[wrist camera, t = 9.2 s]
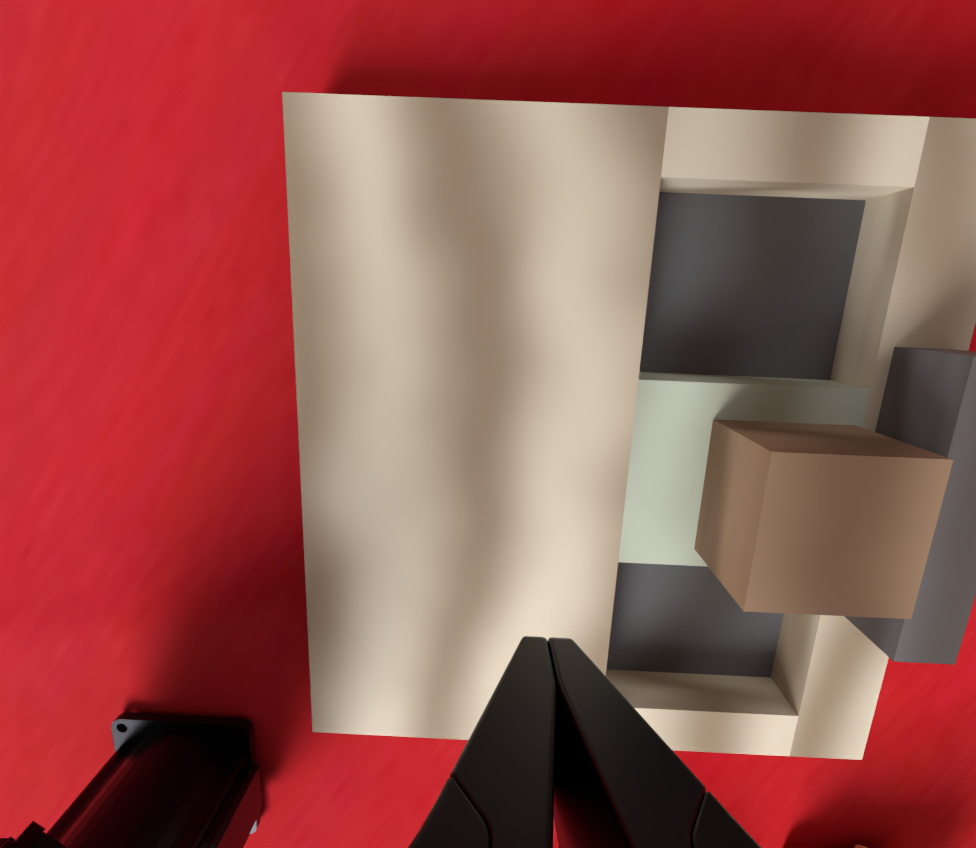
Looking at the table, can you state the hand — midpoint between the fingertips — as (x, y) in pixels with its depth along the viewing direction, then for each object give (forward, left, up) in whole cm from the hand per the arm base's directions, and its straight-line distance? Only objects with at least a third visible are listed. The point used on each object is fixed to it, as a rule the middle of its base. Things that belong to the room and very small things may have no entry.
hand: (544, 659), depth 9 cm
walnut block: (+9, 0, -10) cm, 14 cm away
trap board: (+3, 0, -13) cm, 13 cm away
